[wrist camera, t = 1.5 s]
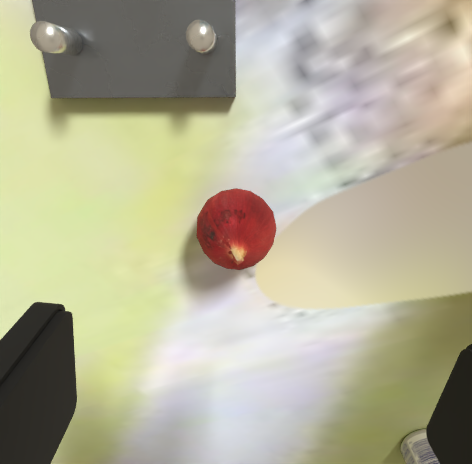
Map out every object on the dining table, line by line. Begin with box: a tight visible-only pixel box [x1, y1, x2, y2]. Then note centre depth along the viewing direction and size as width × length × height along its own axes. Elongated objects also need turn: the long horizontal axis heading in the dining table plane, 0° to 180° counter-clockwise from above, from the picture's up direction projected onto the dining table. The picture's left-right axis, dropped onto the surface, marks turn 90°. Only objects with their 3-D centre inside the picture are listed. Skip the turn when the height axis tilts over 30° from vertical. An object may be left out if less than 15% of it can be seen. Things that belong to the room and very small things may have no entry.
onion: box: [197, 189, 276, 270], centre depth 26 cm, size 6×6×8 cm
